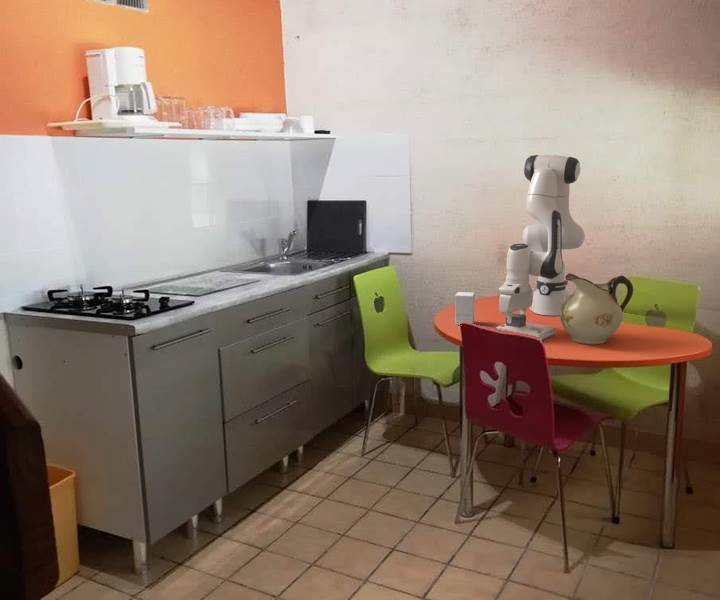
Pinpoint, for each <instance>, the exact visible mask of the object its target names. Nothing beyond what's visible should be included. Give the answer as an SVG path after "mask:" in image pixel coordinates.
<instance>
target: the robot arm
mask: <svg viewBox="0 0 720 600" xmlns="http://www.w3.org/2000/svg"><path fill="white" fill-rule="evenodd" d="M523 171H524V172H523V174H524V177H525V178H526V180H528V181H529V182H530V183H529V186H528V188H527V189H528V191H527V196H526V203H525V207H526V211H527V214H529V216H530V217H531V218H533V219H534V220H536V221H538V222H540V223H533V224H527V225H526V226H525V228H523V232H522V234H521V237H522V238H521V239H522V241H523V243H514V244H512V245H510V246H509V247H508V250H507V255H506V264H505V265H506V266H505V267H506V277H505V281H504V282H503V284H502V285H501V286H500V287H499V288H498V292H499V293H500V294H499V299H498V305H499V306H498V308H499V313H501V314H505V319H506V318H507V323H513V319H512V317H511V315H512V313H514V312H517V311H520V312H519V314H521V315H526V312H527V309H528V307H529V310H530V311H531V312H532V313H533V314H537V315H543V316H550V317H551V316H554V317H555V316H560V308H561V306H562V304H563V303H564V301H565V300H566V299H567V298H568V297H569V296H571V295H572V294H570V293H569V291H568V290H567V286H568V284H569V281H568V280H566V279H565V270H566V269H565V268H566V265H565V262H564V260H563V256H562V250H574V249H579V248H580V247H581V246H582V245H583V243H584V242H585V239H586V234H585V231H584V229H583V228H582V226H581V225H579V224H578V223H577V222H575V220H574V219H573V217H572V215H571V212H570V188H571V187H570V184H574V183H575V182H576V181H577V180H578V178H579V176H580V174H581V164H580V161H579V159H578V158H576V157H573V156H565V155H564V156H563V155H557V154H553V155H548V154H547V155H546V154H544V155H538V154H533V155H530V156H528V157H527V158H526V160H525V163H524V166H523ZM530 276H534V277H537V280H536V290H535V291H533V289H532V287H531V284H530Z"/></svg>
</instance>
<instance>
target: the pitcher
mask: <svg viewBox="0 0 720 600" xmlns="http://www.w3.org/2000/svg"><path fill="white" fill-rule="evenodd" d="M564 279H565V280H568V282H572V283H574V284H575V287H576V288H575V290H574V292H573V293H572V294H570V295H571V296H569V297H568V298H567V299H566V300H565V301H564V303H563V304H562V306H561V308H560V315H559V320H560V322H561V325H562V327H563V328H564V330H565V332H567V333H568V335H570V336H571V340H572V342H575V343H579V344H582V345H601V344H605V343H606V342H607V339H609V338H610V337H612V336H613V334H615V333H616V332H617V330H619V328H620V326H621V325H622V322H623V316H624V314H623V313H624V310H625V309H626V307H627V305H628V304H629V302H630V301H631V298H632V297H633V294H634V286H633V283H632V282H631V280H630V279H628V278H627V277H626V276H624V275H618V276H616V277H613V278H610V279H609V280H608V281H607V282H606V283H601V284H599V283H598V284H597V283H593V281H590V280H589V279H586V278H582V277H579V276H578V275H576V274H573V273H569V272H568V273H566V275H565V276H564ZM620 284H621V285H624V286H625V287H626V289H627V290H626V291H627V292H626V295H625V297H624V299H623V301H622V303H621V304H619V303H618V299H617V295H616V293H617V291H616V290H617V287H618V286H619V285H620Z"/></svg>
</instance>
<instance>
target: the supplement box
mask: <svg viewBox="0 0 720 600" xmlns="http://www.w3.org/2000/svg"><path fill="white" fill-rule="evenodd" d="M475 295H476V293H475V292H469V291H466V292H465V291H457V292H456V294H455V295H454V299H455V300H454V301H455V302H454V303H455V305H454V313H455V314H454V325H455V326H461V325H460V323H462V322H468V323H473V324H474V323H475V303H476V302H475Z"/></svg>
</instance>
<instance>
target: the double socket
mask: <svg viewBox="0 0 720 600" xmlns="http://www.w3.org/2000/svg"><path fill="white" fill-rule="evenodd" d="M496 328H497V329H502V330H508V331H514V332H519V333H524V334H528V335H533V336H536V337H539V338H541V339H542V340H543V341H545V340H547V339H550V338H551V337H554V336H556V330H557V329H556V327H555V326H549V325H543V324H539V323H534V322H532V323H531V322H527V321H526V325H525V326H523V327H520V328H517V327H512V326H506V323H504V324H501V325H498V326H496Z"/></svg>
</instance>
